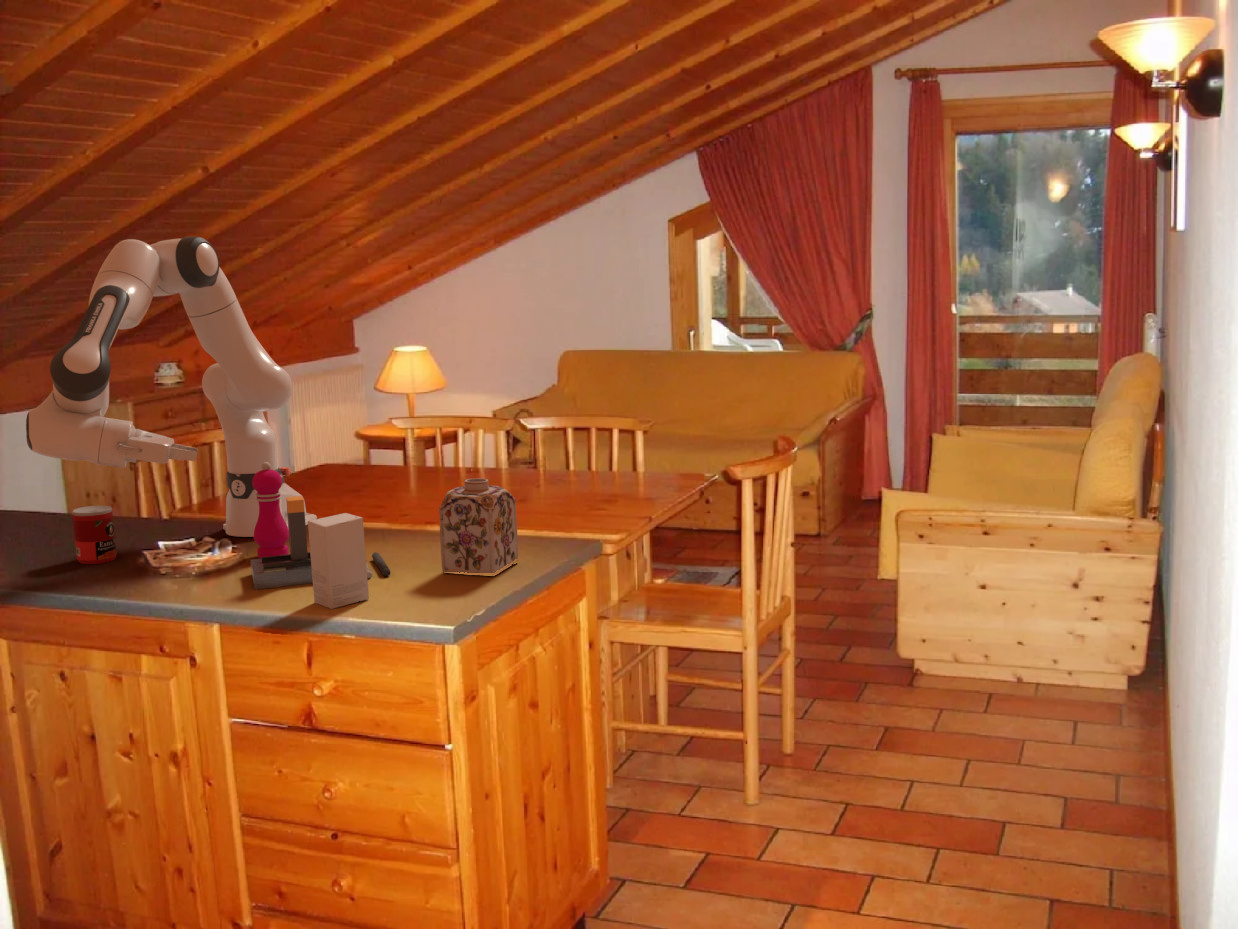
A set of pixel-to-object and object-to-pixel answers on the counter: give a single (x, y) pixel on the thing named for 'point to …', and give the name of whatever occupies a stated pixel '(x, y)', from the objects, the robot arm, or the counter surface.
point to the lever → (297, 528)
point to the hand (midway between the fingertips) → (196, 454)
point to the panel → (280, 571)
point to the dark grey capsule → (379, 565)
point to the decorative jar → (478, 528)
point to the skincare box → (338, 560)
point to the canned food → (94, 534)
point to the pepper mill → (269, 514)
